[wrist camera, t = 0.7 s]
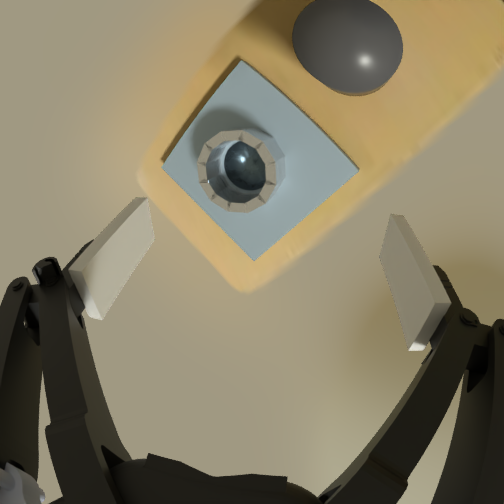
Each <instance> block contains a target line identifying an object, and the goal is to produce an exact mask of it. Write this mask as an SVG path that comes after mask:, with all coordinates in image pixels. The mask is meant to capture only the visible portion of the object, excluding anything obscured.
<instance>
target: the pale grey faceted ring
mask: <svg viewBox="0 0 504 504" xmlns="http://www.w3.org/2000/svg"><path fill="white" fill-rule="evenodd" d="M240 140H241V141H240ZM233 141H239V142H237V143H235V144H233V145H232V146H231V147H230V148H229V149H228V151H227V153H226V155H225V159H224V168H225V172H226V175H227V177H228V178H229V180H230V181H231V182H232V183H233V184H234V185H235V186H237V187H238V188H241V189H243V190H249V191H252V190H257V189H260V188H262V187H263V188H262V190H261V192H259V193H257V194H255V193H242V192H240V191H239V190H237V189H235V188H234V187H232V186H230V184H229V183H228V181H227V179H226V178H225V176H224V175H223V173H222V162H221V157H222V155H223V153H224V151H225V149H226V146H227V145H228V144H230V143H231V142H233ZM197 168H198V177H199V183H200V185H201V187H202V188H203V190H204V191H205V193H206V195H207V196H208V198H209V199H210V201H212V202H213V203H215V204H216V205H218V206H220V207H221V208H223V209H224V210H226V211H228V212H241V213H249V212H251V211H253V210H255V209H256V208H258V207H260V206H262V205H264V204H266V203H267V202H268V201H269V200H270V199H271V198H272V197H273V196H274V195H275V194H276V193H277V191H278V189H279V188H280V186H281V184H282V182H283V181H284V179H285V177H286V167H285V155H284V153H283V152H282V150H281V148H280V147H279V145H278V143H277V142H276V140H275V139H274V137H272V136H270V135H268V134H266V133H265V132H263V131H261V130H259V129H257V128H235V129H230V130H225V131H221V132H219V133H218V134H217V135H215V136H214V137H212V138H211V139H210V140H208V141H207V142H206V143H204V146H203V148H202V151H201V153H200V156H199V158H198V161H197Z"/></svg>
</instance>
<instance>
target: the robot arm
mask: <svg viewBox="0 0 504 504" xmlns="http://www.w3.org/2000/svg"><path fill="white" fill-rule="evenodd" d="M154 240H155V237H154V232H153V227H152V221H151V215H150V210H149V204H148V198H138V197H136V198H135V199H134V200H133V201H132V202H131V203H130V204H129V205H128V206H127V207H126V208H124V209H123V210H122V211H121V212H120V213H119V214H118V215H117V217H116V218H115V219H114V220H113V221H112V222H111V223H110V224H109V225H108V226H107V227H106V228H105V229H104V230H103V231H102V232H101V233H100V234H99V235H98V236H97V237H96V238H95V240H92V241H90V242H89V243H87V244H85V245H84V247H82V248H81V250H80V251H79V253H77V254H76V255H75V257H74V258H73V259H72V260H71V261H70V262H69V263H68V264H67V265H66V267H65V268H64V269H63V270H62V271H61V268H60V266H59V264H58V261H57V259H56V258H54V257H48V258H44V259H43V260H40V261H39V262H38V263H36V265H35V266H34V267H33V269H32V272H33V274H34V276H35V278H36V280H37V283H38V284H37V285H31V284H30V282H29V280H28V278H27V277H19V278H16V279H15V280H13V281H12V282H11V283H10V284H9V286H8V288H7V290H6V293H5V295H4V298H3V300H2V303H1V306H0V504H41V502H43V501H44V500H45V494H44V492H43V490H42V489H41V488H39V486H38V484H37V478H38V462H39V461H38V460H39V451H38V425H39V403H40V390H41V380H42V371H43V377H44V385H45V392H46V397H47V404H48V409H49V414H50V419H51V423H50V425H48V426H46V428H45V434H46V440H47V444H48V448H49V452H50V456H51V459H52V463H53V466H54V470H55V473H56V477H57V480H58V483H59V486H60V489H61V492H62V494H63V497H61V498H59V499H57V500H55V501H53V502H51V503H49V504H396V503H397V502H398V500H399V499H400V498H401V496H402V495H403V494H404V492H405V490H406V489H407V486H408V482H407V479H408V477H409V476H410V474H411V472H412V471H413V469H414V468H415V466H416V465H417V463H418V462H419V460H420V459H421V457H422V455H423V454H424V452H425V450H426V448H427V447H428V445H429V444H430V442H431V440H432V438H433V436H434V434H435V433H436V431H437V429H438V427H439V426H440V424H441V422H442V420H443V418H444V416H445V414H446V412H447V410H448V408H449V406H450V403H451V401H452V399H453V397H454V395H455V393H456V390H457V388H458V385H459V383H460V381H461V379H462V376H463V374H464V376H463V384H462V391H461V397H460V403H459V408H458V414H457V419H456V423H455V428H454V432H453V437H452V440H451V444H450V448H449V452H448V455H447V459H446V462H445V466H444V469H443V472H442V475H441V478H440V481H439V484H438V487H437V489H436V492H435V495H434V497H433V500H432V503H431V504H504V320H503V319H497V320H496V321H495V322H494V324H493V325H492V327H491V326H488V325H484V324H481V323H480V322H479V319H478V317H477V316H476V314H475V313H473V312H472V311H471V310H469V309H466V308H463V306H462V304H461V302H460V300H459V298H458V296H457V294H456V292H455V290H454V288H453V286H452V285H451V282H449V279H448V277H447V275H446V273H445V272H444V271H443V270H442V269H441V268H440V267H439V266H434V265H432V264H431V262H430V260H429V258H428V256H427V255H426V253H425V251H424V250H423V247H422V246H421V244H420V242H419V241H418V239H417V237H416V236H415V234H414V232H413V231H412V229H411V227H410V226H409V224H408V222H407V221H406V219H405V218H404V216H402V215H395V214H391V215H390V218H389V222H388V226H387V230H386V234H385V238H384V242H383V245H382V249H381V252H380V256H379V258H380V261H381V264H382V266H383V269H384V272H385V275H386V278H387V281H388V284H389V287H390V290H391V293H392V296H393V299H394V302H395V305H396V308H397V312H398V315H399V318H400V322H401V326H402V329H403V333H404V336H405V340H406V343H407V348H408V351H415V350H424V348H425V347H426V345H427V344H428V342H429V341H430V344H431V347H432V349H431V351H430V352H429V353H428V355H427V356H426V358H425V359H424V361H423V362H422V366H421V368H420V369H419V371H418V373H417V374H416V376H415V378H414V379H413V381H412V382H411V384H410V386H409V387H408V389H407V390H406V392H405V394H404V395H403V397H402V398H401V400H400V401H399V403H398V404H397V405H396V407H395V409H394V410H393V411H392V413H391V414H390V415H389V417H388V418H387V420H386V421H385V423H384V424H383V425H382V427H381V428H380V429H379V430H378V432H377V433H376V434H375V436H374V437H373V438H372V440H371V441H370V442H369V443H368V444H367V446H366V447H365V448H364V449H363V451H362V452H361V453H360V454H359V456H357V458H356V459H355V460H354V461H353V462H352V463H351V465H350V466H349V467H348V468H347V469H346V470H345V471H344V472H343V473H342V474H341V475H340V476H339V477H338V478H337V479H336V480H335V481H334V482H333V483H332V484H331V485H330V486H329V487H328V488H326V489H325V490H324V491H323V492H322V494H320V495H319V496H318V497H316V496H315V495H314V494H312V493H311V492H309V491H308V490H306V489H304V488H302V487H300V486H298V485H296V484H293V483H289V482H287V477H286V476H284V477H283V476H269V475H258V474H246V475H236V476H221V477H213V476H210V475H208V474H206V473H203V472H201V471H199V470H197V469H195V468H192V467H190V466H188V465H186V464H184V463H182V462H180V461H176V460H172V459H168V458H164V457H161V456H157V455H153V454H150V453H148V456H147V459H136V460H132V459H131V457H130V455H129V453H128V452H127V450H126V449H125V448H124V446H123V444H122V443H121V440H120V438H119V436H118V433H117V431H116V428H115V425H114V423H113V420H112V417H111V415H110V412H109V409H108V406H107V403H106V400H105V397H104V395H103V391H102V388H101V385H100V381H99V378H98V375H97V371H96V368H95V364H94V360H93V356H92V352H91V349H90V344H89V340H88V336H87V331H86V327H85V322H84V318H83V316H82V314H81V313H82V311H83V310H84V309H86V311H87V313H88V315H89V317H92V318H96V319H100V320H103V318H104V316H105V315H106V313H107V312H108V310H109V308H110V307H111V305H112V304H113V302H114V300H115V299H116V297H117V296H118V294H119V292H120V291H121V289H122V288H123V286H124V285H125V283H126V281H127V280H128V279H129V277H130V275H131V274H132V272H133V271H134V269H135V268H136V266H137V265H138V263H139V262H140V260H141V259H142V258H143V256H144V255H145V253H146V252H147V250H148V248H149V247H150V246H151V244H152V243H153V241H154ZM24 322H25V326H24Z"/></svg>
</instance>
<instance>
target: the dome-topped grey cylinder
mask: <svg viewBox="0 0 504 504" xmlns="http://www.w3.org/2000/svg"><path fill="white" fill-rule="evenodd" d="M292 41H293V47H294V50H295V53H296V55H297V58H298V59H299V61H300V63H301V64H302V66H303V67H304V68H305V69H306V70H307V71H308V72H309V73H310V74H311V75H312V76H313V77H315V78H316V79H317V80H319V81H320V82H321V83H323V84H324V85H326V86H327V87H328V88H330V89H332V90H333V91H336V92H338V93H341V94H344V95H348V96H364V95H368V94H371V93H374V92H376V91H377V90H379V89H380V88H382V87H383V86H384V85H385V84H386V83H387V81H388V80H389V79H390V78H391V77H392V75H393V74H394V73H395V71H396V70H397V68H398V66H399V64H400V62H401V59H402V53H403V43H402V37H401V34H400V31H399V29H398V27H397V25H396V23H395V22H394V20H393V19H392V18H391V17H390V15H389V14H388V13H387V12H386V11H384V10H383V9H382V8H381V7H379V6H378V5H377V4H375V3H373V2H371V1H369V0H315V1H314V2H312V3H310V4H309V5H308V6H307V7H305V8H304V10H303V11H302V12H301V13H300V14H299V16H298V18H297V20H296V22H295V24H294V28H293V34H292Z"/></svg>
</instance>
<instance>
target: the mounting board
mask: <svg viewBox="0 0 504 504" xmlns="http://www.w3.org/2000/svg"><path fill="white" fill-rule="evenodd" d="M235 128H257V129H259V130H261V131H263V132H265V133H266V134H268V135H270V136H272V137H274V139H275V140H276V142H277V143H278V145H279V147H280V148H281V150H282V152H283V153H284V155H285V167H286V177H285V179H284V181H283V182H282V184H281V186H280V188H279V189H278V191H277V193H276V194H275V195H274V196H273V197H272V198H271V199H270V200H269V201H268V202H267V203H266V204H264V205H262V206H260V207H258V208H256V209H255V210H253V211H251V212H249V213H241V212H228V211H226V210H224V209H223V208H221V207H220V206H218V205H216V204H215V203H213V202H212V201H210V199H209V198H208V196H207V195H206V193H205V191H204V190H203V188H202V187H201V185H200V183H199V177H198V168H197V161H198V158H199V156H200V153H201V151H202V148H203V146H204V143H206V142H207V141H208V140H210V139H211V138H212V137H214V136H215V135H217V134H218V133H219V132H221V131H225V130H230V129H235ZM240 141H241V140H240ZM237 142H239V141H233V142H231V143H230V144H228V145H227V146H226V149H225V151H224V153H223V155H222V157H221V162H222V173H223V175H224V176H225V178H226V179H227V181H228V183H229V184H230V186H232V187H234V188H235V189H237V190H239V191H240V192H242V193H255V194H257V193H259V192H261V190H262V188H263V187H262V188H260V189H257V190H252V191H249V190H243V189H241V188H238V187H237V186H235V185H234V184H233V183H232V182H231V181H230V180H229V178H228V177H227V175H226V172H225V168H224V159H225V155H226V153H227V151H228V149H229V148H230V147H231V146H232V145H233V144H235V143H237ZM161 168H162V169H163V170H164V171H165V172H166V173H167V174H168V175H169V176H170V177H171V178H172V179H173V180H174V181H175V182H176V183H177V184H178V185H179V186H180V187H181V188H182V189H183V190H184V191H185V192H186V193H187V194H188V195H189V196H190V197H191V198H192V199H193V200H194V201H195V202H196V203H197V204H198V205H199V206H200V207H201V208H202V209H203V210H204V211H205V212H206V213H207V214H208V215H209V216H210V217H211V218H212V219H213V220H214V221H215V222H216V223H217V224H218V225H219V226H220V227H221V229H222V230H223V231H224V232H225V233H226V234H227V235H228V236H229V237H230V238H231V239H232V240H233V241H234V242H235V243H236V244H237V245H238V246H239V247H240V248H241V249H242V250H243V251H244V252H245V253H246V254H247V255H248V256H249V257H250V258H251V259H252V260H253V261H255V260H256V259H257V258H258V257H260V256H261V255H262V254H263V253H264V252H265V251H267V250H268V249H269V248H270V247H271V246H272V245H274V244H275V243H276V242H277V241H278V240H280V239H281V238H282V237H283V236H284V235H285V234H287V233H288V232H289V231H290V230H291V229H292V228H294V227H295V226H296V225H297V224H298V223H299V222H301V221H302V220H303V219H304V218H305V217H306V216H308V215H309V214H310V213H311V212H312V211H313V210H315V209H316V208H317V207H318V206H319V205H320V204H322V203H323V202H324V201H325V200H326V199H327V198H328V197H330V196H331V195H332V194H333V193H334V192H335V191H337V190H338V189H339V188H340V187H341V186H342V185H344V184H345V183H346V182H347V181H348V180H349V179H350V178H352V177H353V176H354V175H355V174H356V173H357V172H359V168H358V167H357V166H356V165H355V163H354V162H353V161H352V160H351V159H350V158H349V157H348V156H347V155H346V154H345V153H344V152H343V150H342V149H341V148H340V147H339V146H338V145H337V144H336V143H335V142H334V141H333V140H332V139H331V138H330V137H329V136H328V135H327V134H326V133H325V132H324V131H323V130H322V129H321V128H320V127H319V126H318V125H317V124H316V123H315V122H314V121H313V120H312V119H311V118H310V117H309V116H308V115H307V114H306V113H305V112H304V111H303V110H301V109H300V108H299V107H298V106H297V105H296V104H295V103H294V102H293V101H292V100H291V99H289V98H288V97H287V96H286V95H285V94H284V93H283V92H282V91H280V90H279V89H278V88H277V87H276V86H275V85H273V84H272V83H271V82H270V81H269V80H268V79H266V78H265V77H264V76H263V75H262V74H260V73H259V72H258V71H257V70H255V69H254V68H253V67H252V66H250V65H249V64H248V63H247V62H245V61H242V60H241V61H240V63H239V64H238V65H237V66H236V67H235V68H234V70H233V71H232V72H231V73H230V74H229V76H228V77H227V78H226V79H225V80H224V82H223V83H222V84H221V85H220V87H219V88H218V89H217V90H216V92H215V93H214V94H213V95H212V97H211V98H210V99H209V101H208V102H207V103H206V105H205V106H204V107H203V108H202V110H201V111H200V112H199V114H198V115H197V117H196V118H195V119H194V121H193V122H192V123H191V125H190V126H189V128H188V129H187V130H186V132H185V133H184V135H183V136H182V137H181V139H180V140H179V142H178V143H177V145H176V146H175V148H174V149H173V151H172V152H171V154H170V155H169V157H168V158H167V160H166V161H165V163H164V164H163V166H162V167H161Z"/></svg>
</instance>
